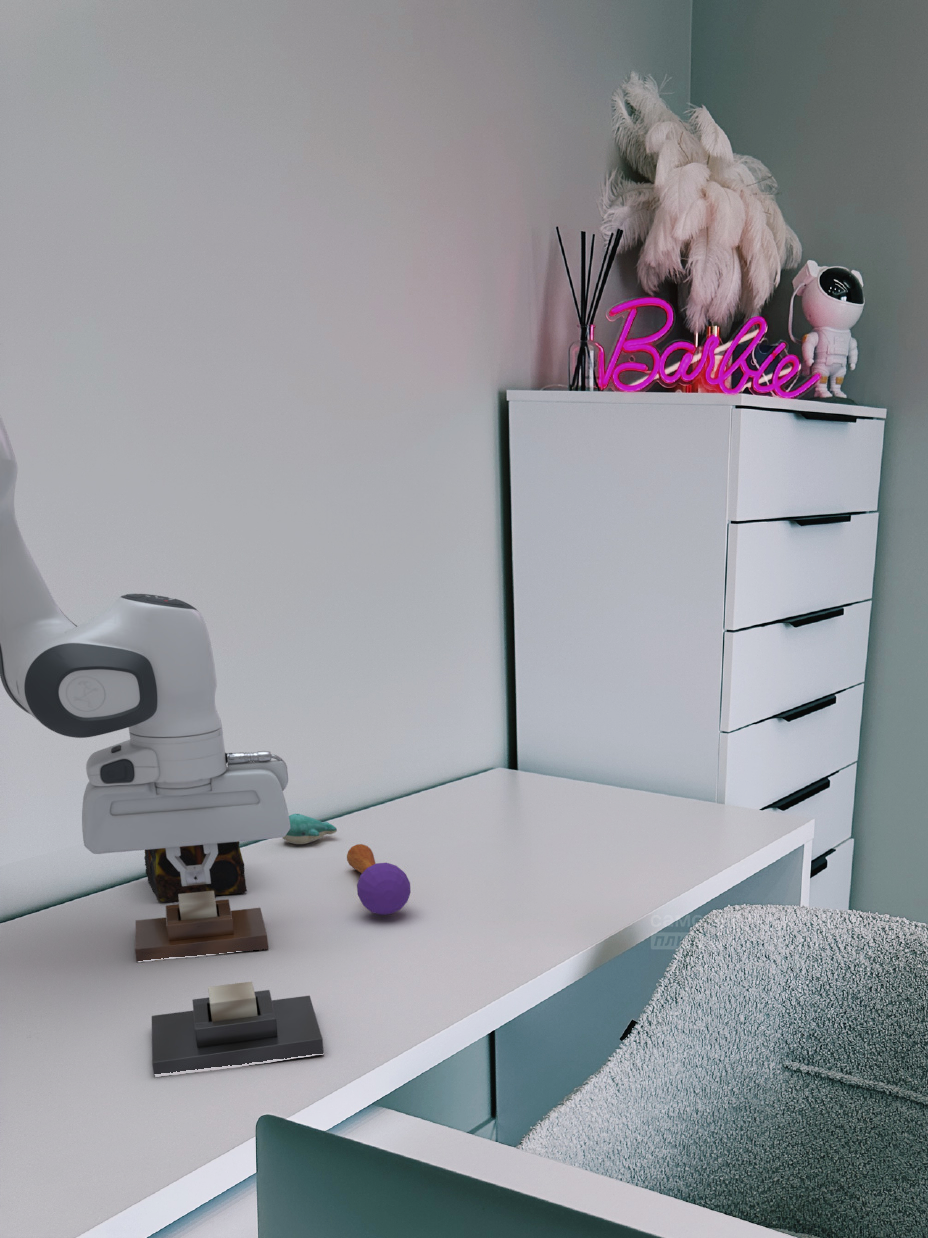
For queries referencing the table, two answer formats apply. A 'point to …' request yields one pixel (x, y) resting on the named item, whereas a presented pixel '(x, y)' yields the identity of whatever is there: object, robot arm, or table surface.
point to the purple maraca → (378, 882)
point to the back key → (197, 905)
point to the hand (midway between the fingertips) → (196, 883)
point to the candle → (222, 872)
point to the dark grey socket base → (235, 1035)
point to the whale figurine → (307, 829)
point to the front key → (232, 1001)
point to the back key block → (200, 933)
